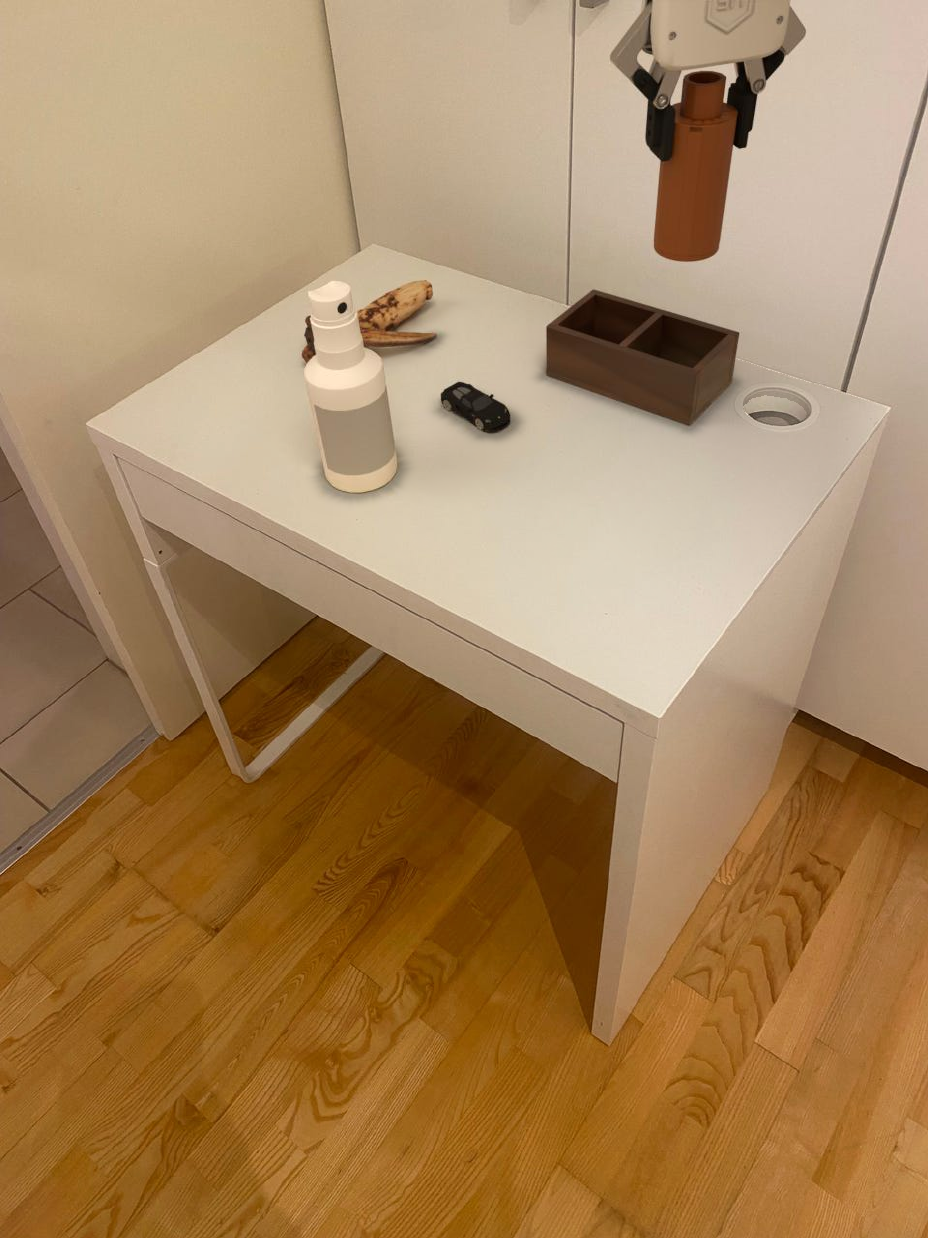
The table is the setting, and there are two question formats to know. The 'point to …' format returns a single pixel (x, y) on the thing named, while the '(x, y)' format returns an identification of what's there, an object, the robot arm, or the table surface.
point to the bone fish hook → (385, 319)
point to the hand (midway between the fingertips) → (697, 146)
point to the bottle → (696, 171)
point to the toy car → (476, 406)
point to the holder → (641, 355)
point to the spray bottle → (348, 396)
